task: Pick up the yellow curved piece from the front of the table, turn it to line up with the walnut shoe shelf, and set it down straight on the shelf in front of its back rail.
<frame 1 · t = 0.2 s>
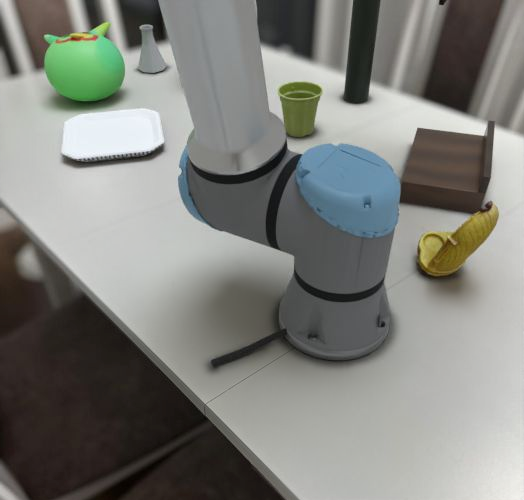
plate: (114, 142, 113), on the table
plant pot: (298, 132, 115), on the table
toy bird: (93, 98, 129), on the table
flask: (152, 69, 141), on the table
shoe shelf: (443, 177, 100), on the table
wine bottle: (355, 99, 126), on the table
yellow curved piece: (444, 273, 81), on the table
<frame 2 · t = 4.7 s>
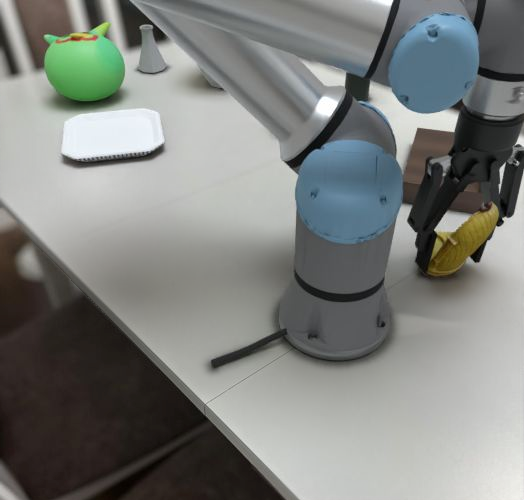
hand: (447, 261, 80), 2 cm above the table, tool pointing down, fingers closed on yellow curved piece, 8 cm apart
yellow curved piece: (444, 273, 81), on the table, touching gripper
everything else where it was.
when the fingers open (6 cm above the table, at t = 13.7 s): yellow curved piece stays where it is, resting on shoe shelf.
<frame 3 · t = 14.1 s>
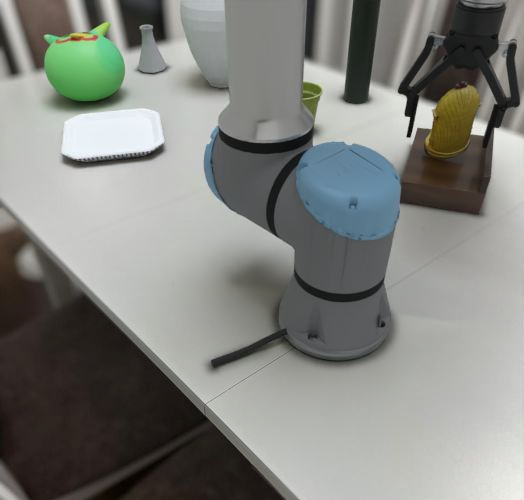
hand: (446, 139, 95), 7 cm above the table, tool pointing down, fingers open, 13 cm apart
yellow curved piece: (443, 157, 98), point 4 cm above the table, touching shoe shelf
everything else where it was.
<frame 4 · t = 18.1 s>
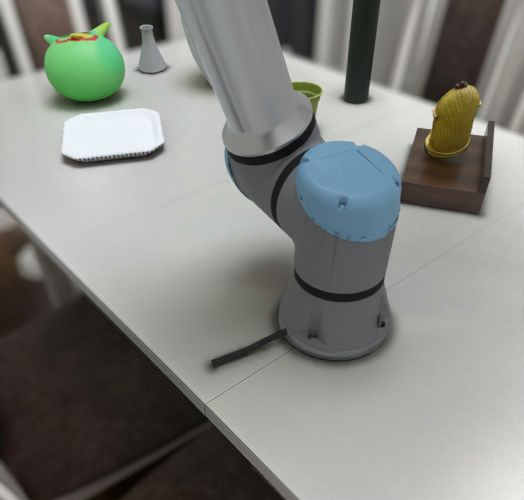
nothing on the table moved.
at the end: yellow curved piece inside the target area on the shoe shelf (0.2 cm from its centre), point 3.8 cm above the shoe shelf's base; yellow curved piece tilted 0°; the gripper is holding nothing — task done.
